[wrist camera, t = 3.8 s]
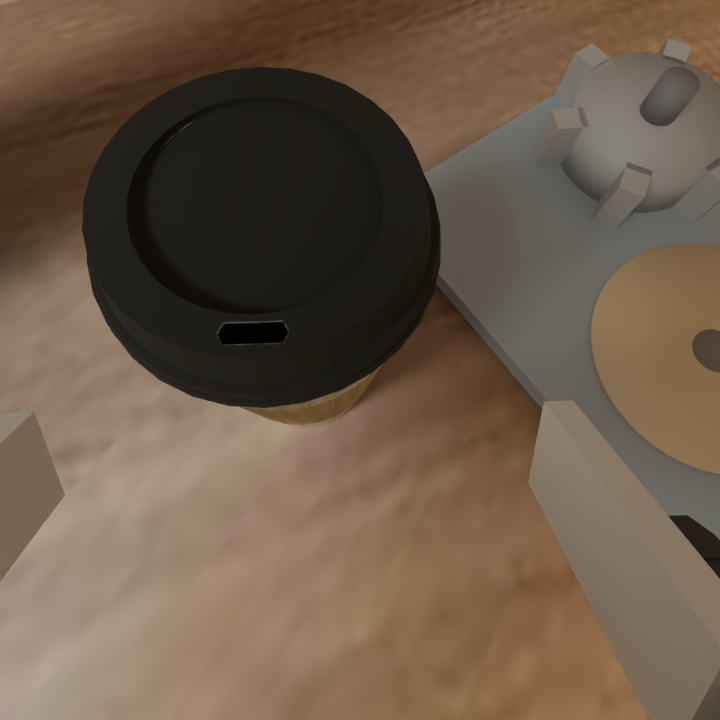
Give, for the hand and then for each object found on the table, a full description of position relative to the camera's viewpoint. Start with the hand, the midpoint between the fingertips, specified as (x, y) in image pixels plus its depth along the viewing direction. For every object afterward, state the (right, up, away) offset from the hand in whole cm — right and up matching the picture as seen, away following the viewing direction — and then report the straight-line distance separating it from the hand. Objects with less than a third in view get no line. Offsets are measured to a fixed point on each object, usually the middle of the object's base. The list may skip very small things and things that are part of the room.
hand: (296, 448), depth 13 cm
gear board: (+20, +5, +15) cm, 25 cm away
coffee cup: (-1, +2, +14) cm, 14 cm away
